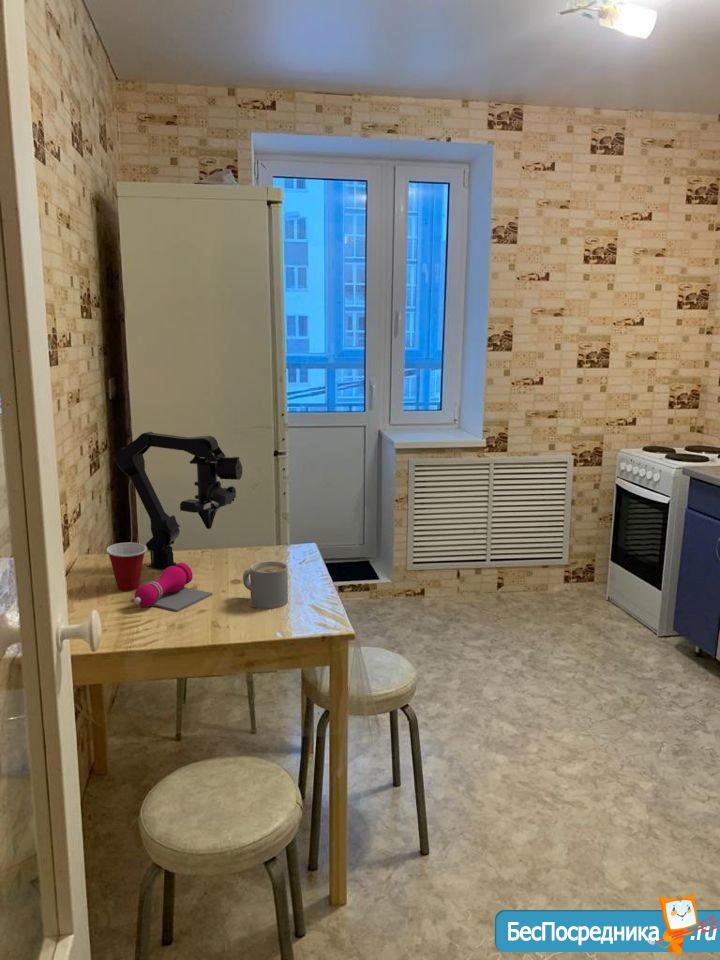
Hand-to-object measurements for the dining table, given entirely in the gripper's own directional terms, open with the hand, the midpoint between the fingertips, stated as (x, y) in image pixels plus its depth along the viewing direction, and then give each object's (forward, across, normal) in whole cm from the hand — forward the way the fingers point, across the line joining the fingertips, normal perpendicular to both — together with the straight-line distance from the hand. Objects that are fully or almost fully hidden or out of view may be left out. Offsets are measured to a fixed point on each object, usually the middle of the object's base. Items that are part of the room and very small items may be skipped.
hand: (208, 528), depth 212 cm
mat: (+13, -24, -7) cm, 28 cm away
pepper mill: (+8, -16, -4) cm, 19 cm away
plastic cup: (+13, -24, +9) cm, 29 cm away
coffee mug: (+13, -13, -30) cm, 35 cm away
